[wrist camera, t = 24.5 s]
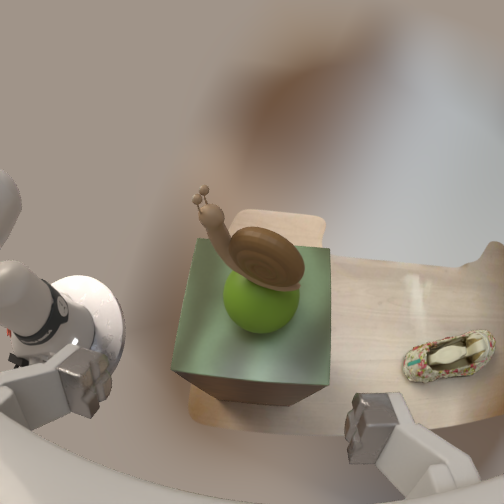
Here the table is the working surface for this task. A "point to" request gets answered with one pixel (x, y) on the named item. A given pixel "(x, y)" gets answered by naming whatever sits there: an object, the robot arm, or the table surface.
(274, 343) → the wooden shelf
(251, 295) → the snail figurine
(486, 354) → the ballet flat
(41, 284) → the robot arm
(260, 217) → the table surface
